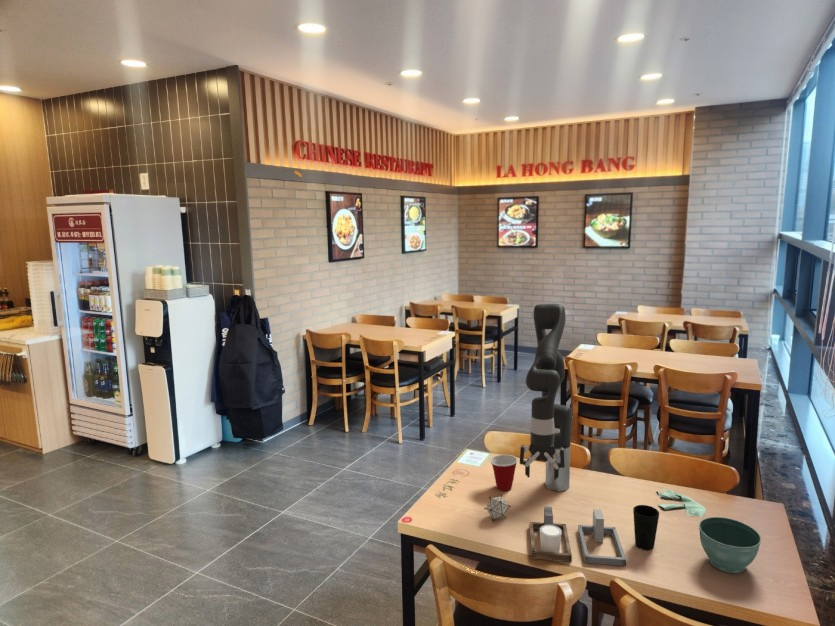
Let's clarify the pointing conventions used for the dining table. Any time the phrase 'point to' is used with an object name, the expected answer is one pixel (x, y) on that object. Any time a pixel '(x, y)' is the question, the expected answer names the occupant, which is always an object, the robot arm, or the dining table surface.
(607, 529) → the grey hollow rectangular frame
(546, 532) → the white cylinder
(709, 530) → the green bowl
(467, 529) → the dining table surface
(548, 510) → the wooden picture frame
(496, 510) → the game die
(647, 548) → the cup
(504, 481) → the plastic cup
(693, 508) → the cloth
